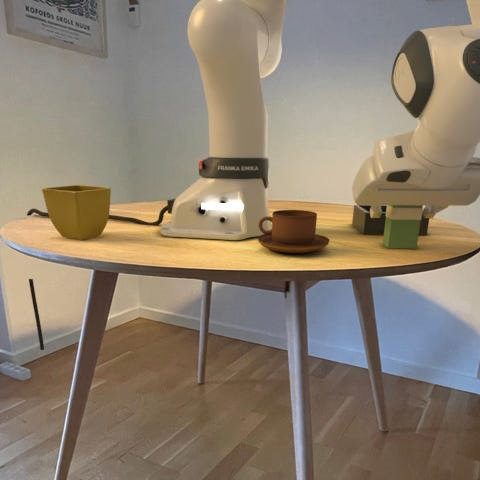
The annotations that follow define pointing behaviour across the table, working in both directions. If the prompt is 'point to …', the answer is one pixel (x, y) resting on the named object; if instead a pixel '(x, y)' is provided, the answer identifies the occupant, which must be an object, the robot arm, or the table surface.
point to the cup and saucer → (292, 232)
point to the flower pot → (78, 209)
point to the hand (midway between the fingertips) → (400, 214)
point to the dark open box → (378, 221)
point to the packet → (402, 226)
